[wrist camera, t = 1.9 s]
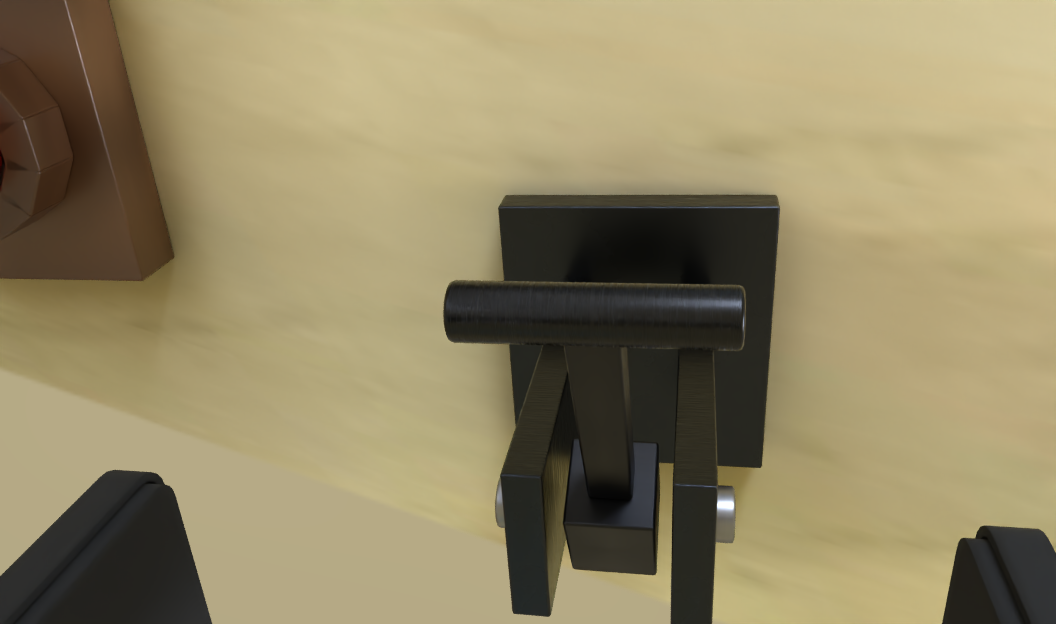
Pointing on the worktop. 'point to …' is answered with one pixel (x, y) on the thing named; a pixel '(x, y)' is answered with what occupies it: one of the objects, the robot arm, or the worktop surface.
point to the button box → (72, 150)
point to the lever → (602, 388)
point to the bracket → (639, 373)
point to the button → (0, 161)
